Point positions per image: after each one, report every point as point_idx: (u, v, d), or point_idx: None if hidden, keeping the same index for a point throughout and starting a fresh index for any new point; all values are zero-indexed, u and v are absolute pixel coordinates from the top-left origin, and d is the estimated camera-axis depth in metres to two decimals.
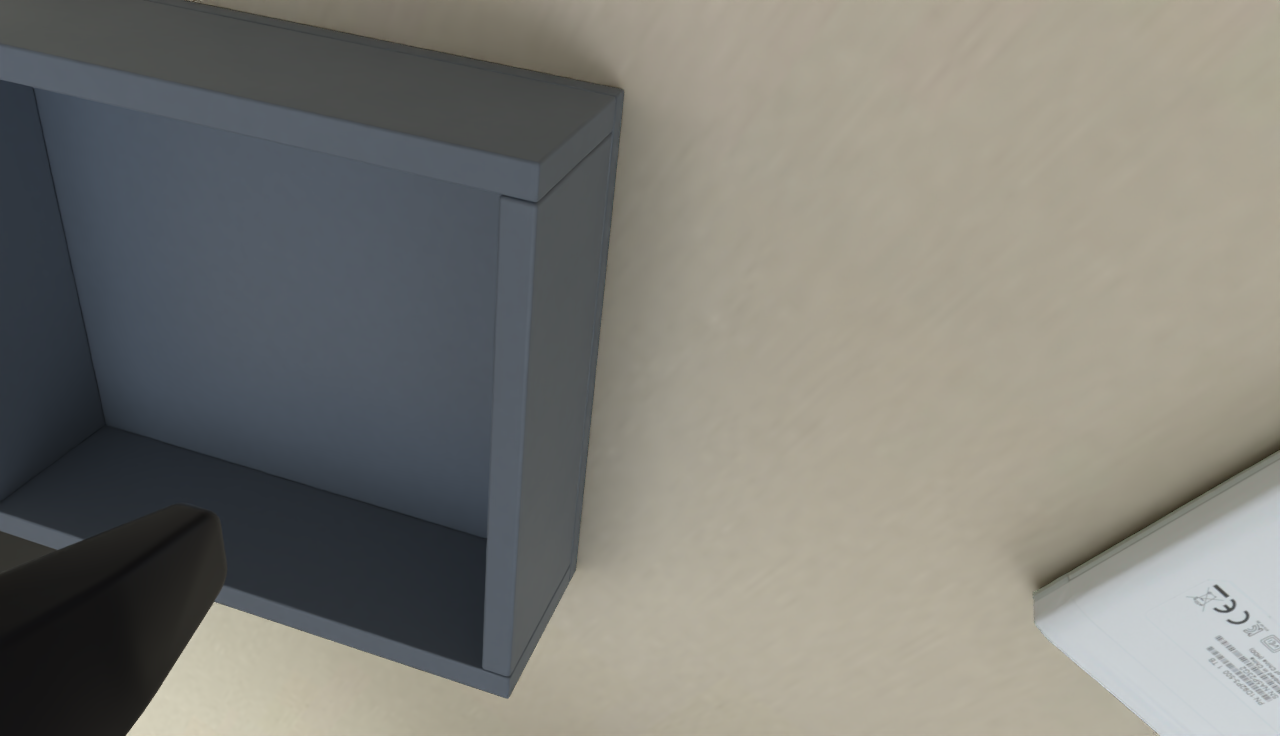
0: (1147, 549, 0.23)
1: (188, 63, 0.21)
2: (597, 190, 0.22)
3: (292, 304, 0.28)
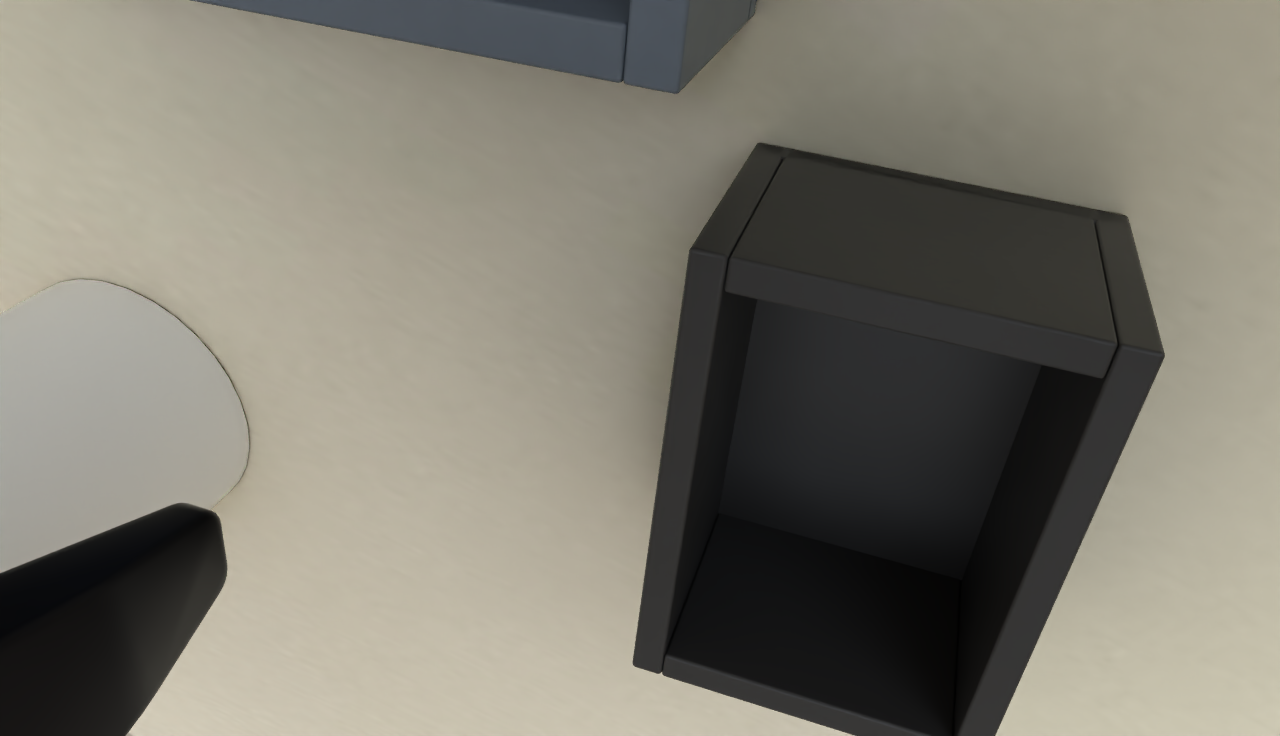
0: None
1: None
2: None
3: None
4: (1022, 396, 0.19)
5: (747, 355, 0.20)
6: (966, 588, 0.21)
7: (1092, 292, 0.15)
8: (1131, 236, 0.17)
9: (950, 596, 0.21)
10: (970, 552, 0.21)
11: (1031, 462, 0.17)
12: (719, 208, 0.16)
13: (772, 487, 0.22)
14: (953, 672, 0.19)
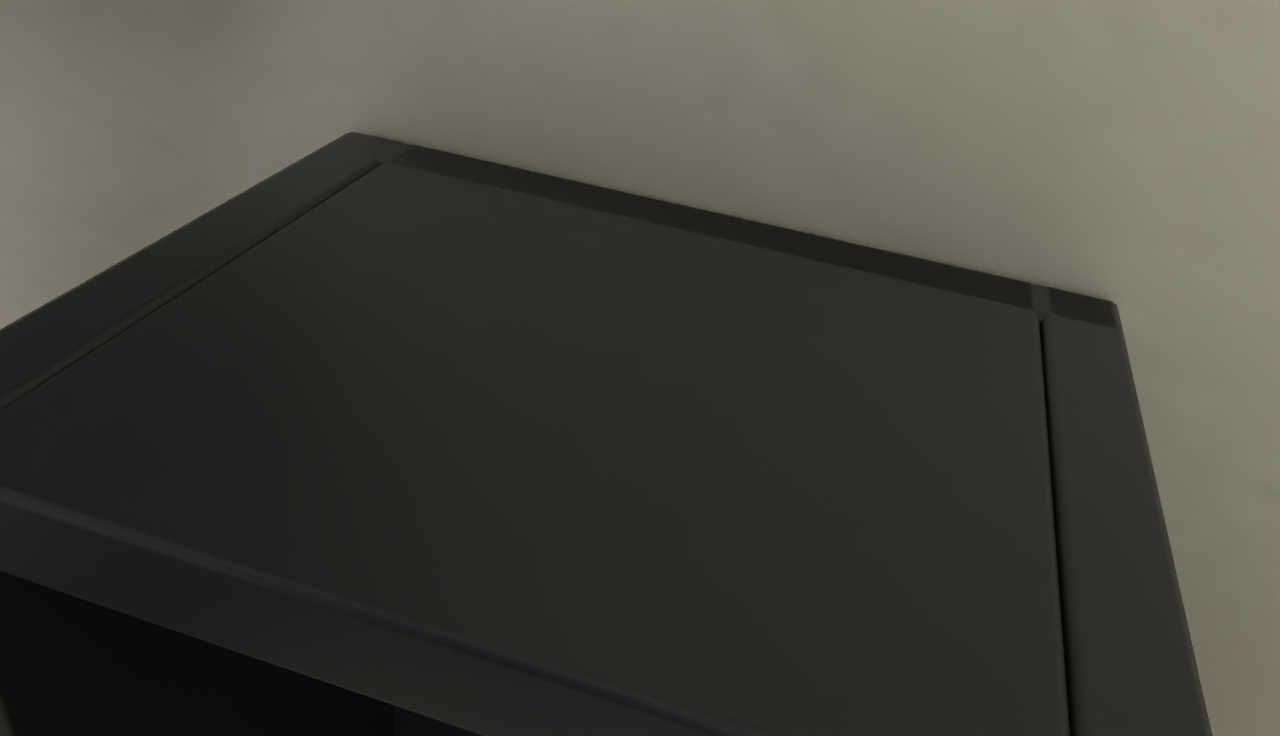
0: None
1: None
2: None
3: None
4: None
5: None
6: None
7: (1012, 568, 0.05)
8: (1123, 359, 0.07)
9: None
10: None
11: None
12: (72, 292, 0.06)
13: None
14: None
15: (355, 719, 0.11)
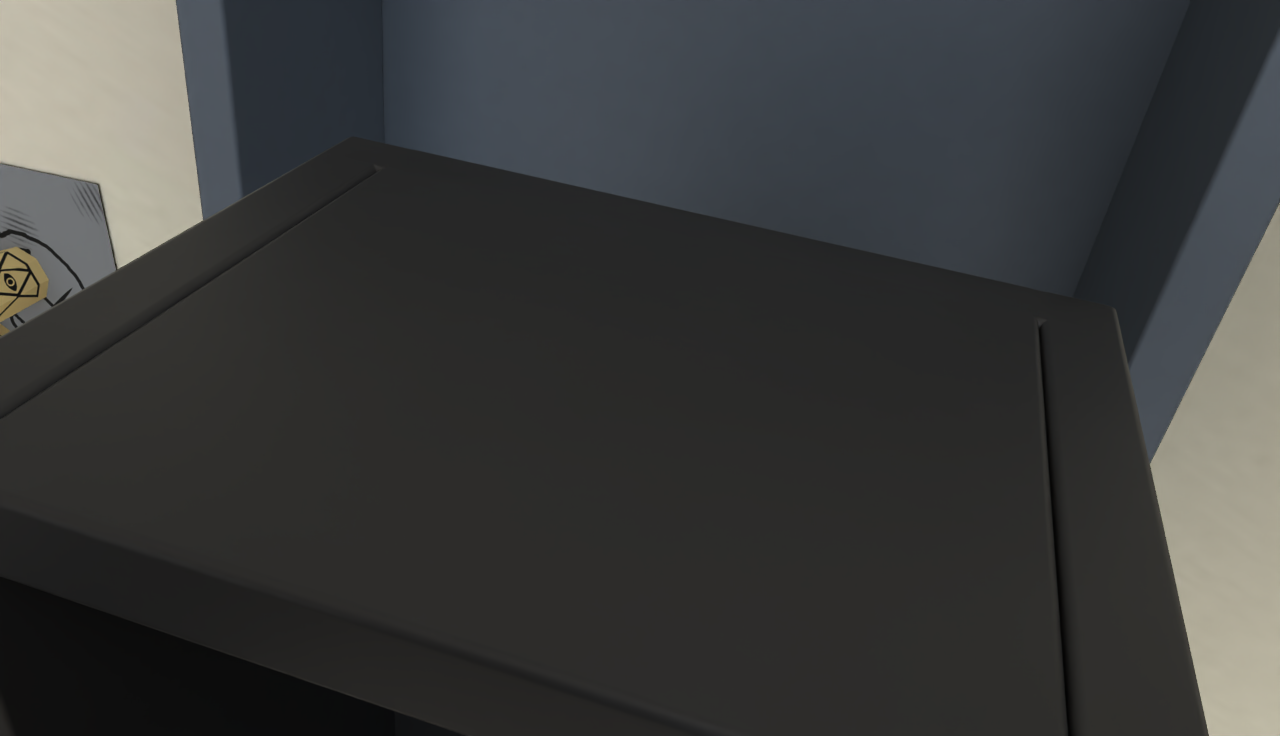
0: None
1: None
2: None
3: (729, 131, 0.18)
4: None
5: None
6: None
7: (1010, 574, 0.05)
8: (1123, 363, 0.07)
9: None
10: None
11: None
12: (74, 298, 0.06)
13: None
14: None
15: (356, 722, 0.11)
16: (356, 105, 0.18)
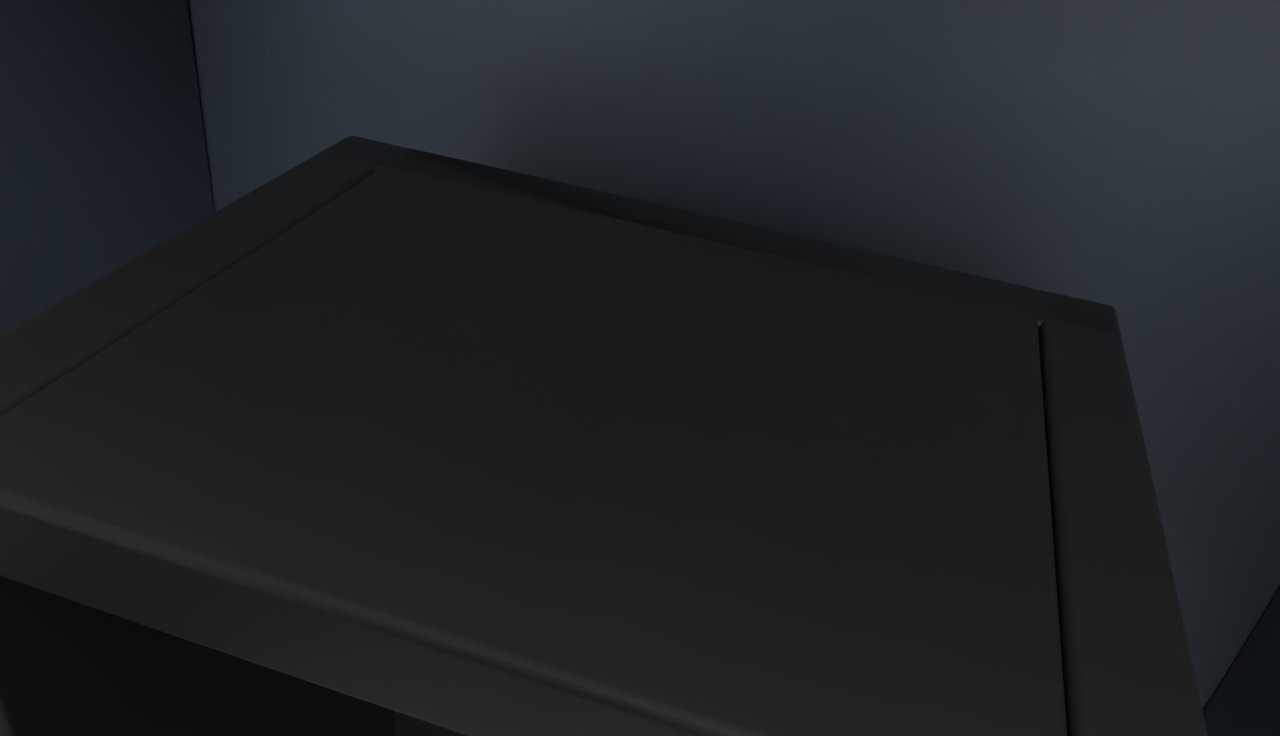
0: None
1: None
2: None
3: None
4: None
5: None
6: None
7: (1010, 573, 0.05)
8: (1123, 362, 0.07)
9: None
10: None
11: None
12: (73, 297, 0.06)
13: None
14: None
15: (355, 721, 0.11)
16: None
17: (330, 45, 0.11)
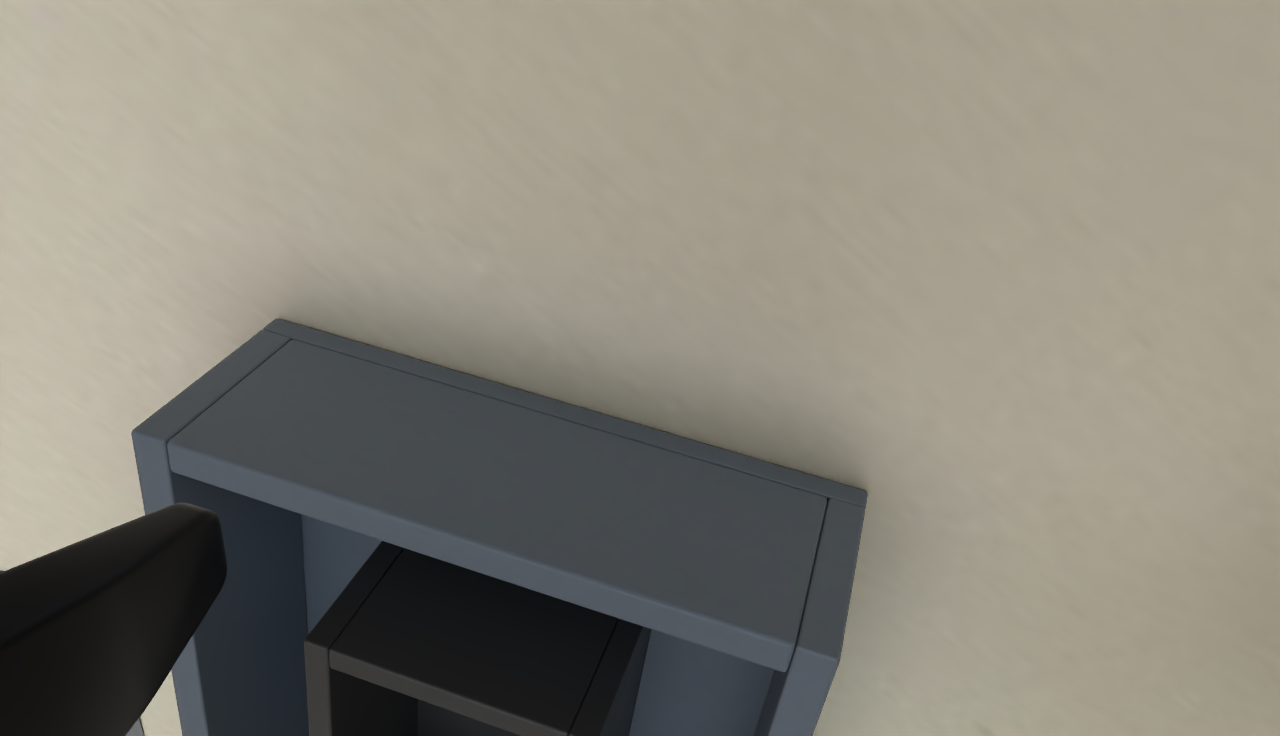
0: None
1: None
2: (313, 366, 0.23)
3: None
4: None
5: None
6: None
7: (580, 676, 0.22)
8: None
9: None
10: None
11: None
12: (345, 590, 0.23)
13: (452, 723, 0.29)
14: None
15: (404, 707, 0.28)
16: (287, 634, 0.28)
17: None
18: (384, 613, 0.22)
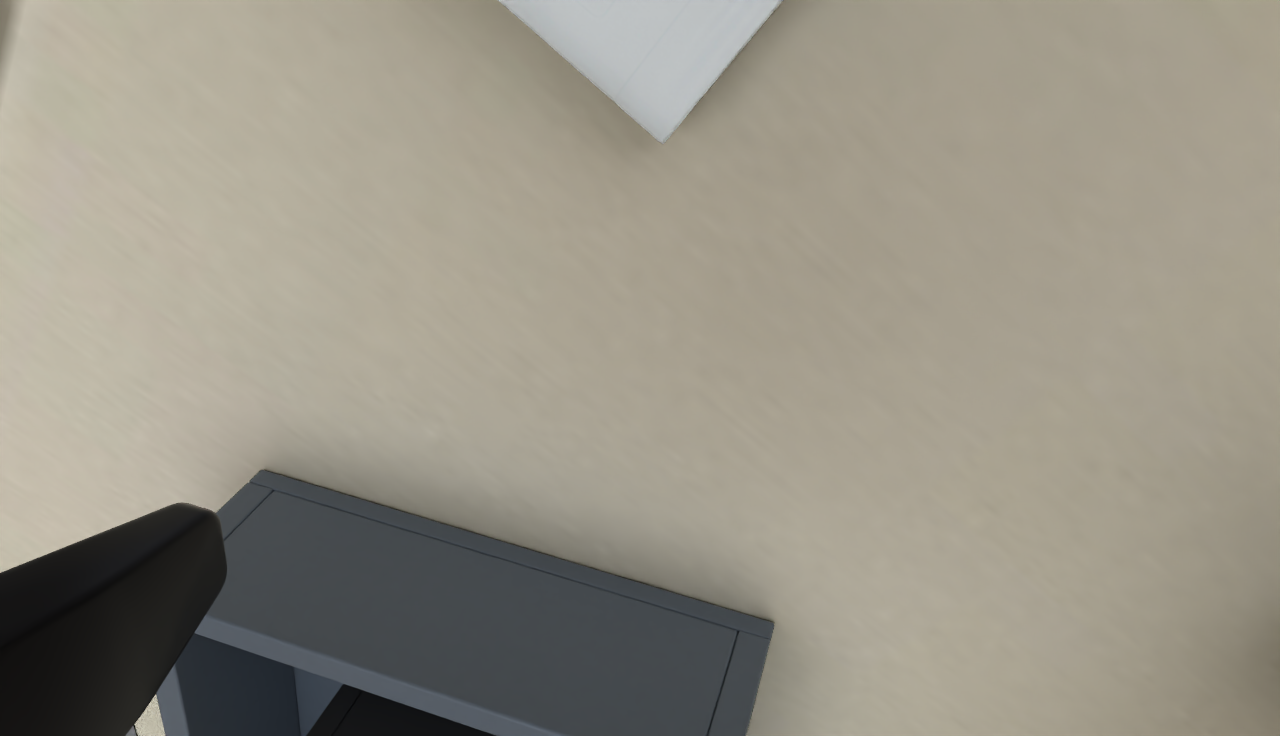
0: None
1: None
2: (291, 518, 0.27)
3: None
4: None
5: None
6: None
7: None
8: None
9: None
10: None
11: None
12: (323, 714, 0.26)
13: None
14: None
15: None
16: None
17: None
18: None
